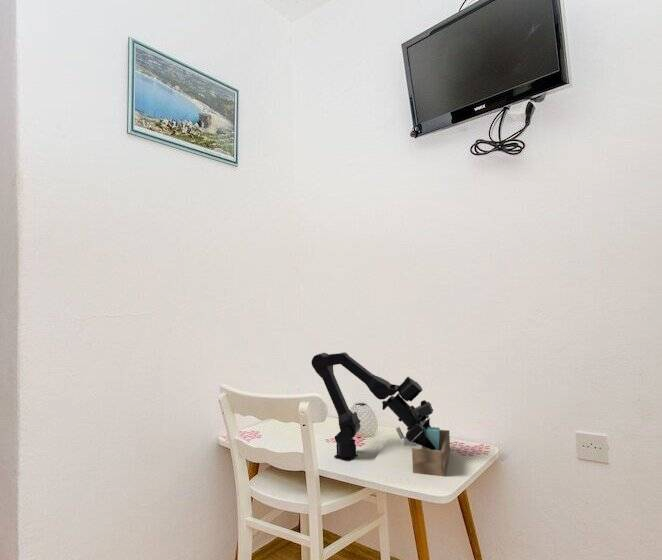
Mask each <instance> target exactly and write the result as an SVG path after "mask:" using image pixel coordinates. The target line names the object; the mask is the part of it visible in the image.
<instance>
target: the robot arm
mask: <svg viewBox="0 0 662 560" xmlns="http://www.w3.org/2000/svg"><path fill="white" fill-rule="evenodd" d="M310 362H311V366H312V368H313V370H314V371H315V373H316V374H317V375H318V376H319V377H320V378H321V380H322V381H323V383H324V385H325V387H326V391H327V392H328V395H329V398H330V399H331V402H332V404H333V406H334V408H335V411H336V414H337V417H338V418H337V420H338V427H339V432H338V433H337V434H336V435H334V440H335V443H336V454H335V455H334V458H335V457H336V458H335V459H338V458H340V459H339V460H342V459H344V460H343V461H346V460H349V461H351V460H352V459H355V458H356V457H358V454H357V445H356V439H354V438H355V436H356V435H357V434H358V432H359V431H360V430H361V420H360V419H359V416H358V413H357V411H354V412H352V411H351V410H350V409H349V407H348V404H347V401H346V399H345V397H344V394H343V392H342V390H341V387H340V385H339V383H338V381H337V379H336V376H335V374H334V373H335V372H334V366H337V365H341V366H342V367H343V368H345V369H346V370H347V371H348V372H350V373H351V374H352V375H353V376H354V377H356V378H358V379H359V380H360V381H361V382H363V383H364V384H365V385H366V387H367V388H368V389H369V391H370V393H372V394H373V396H374V397H375V398H377V399H378V400H381V401H382V402H381V403H382V404H381V405H382V410H383V411H384V410H386V409H387V408H388V409H390V410H391V411H392V412H393V414H394V415H396V417H397V418H398V421H399V422H401V423H403V424H404V425H405V426H406V427H407V428H406V430H407V431H406V433H405V437H406V439H407V440H408V441H409V442H411V441H412V442H413V443H415V444H417V445H420V446H421V447H422V446H424V447H426V448H429V449H431V450H435V446H434V445H433V443H432V442H431V441H430V439H429V438H428V437H427V433H426V430H427V428H428V427H432V425H431V423H430V422H431V421H430V420H431V418H430V415H431V414H433V413H434V409H433V407H432V403H430V402H429V401H426V399H424V400H421V401H420V405H418V406H417V407H415V406H414V405H410V404H408V403H407V402H412V401H414V400H415V398H416V397H418V395H420V393H422V392H423V387H422V386H421V385H420V383H418V382H417V381H415V380H414V379H413V378H411V377H410V376H406V378H405V379H404V380H403V382H402V383H400V385H398V384H392V383H391V382H390V381H388V380H386V379H384V378H383V377H380V376H378V375H375V374H373V373H372V372H371V371H369V370H368V369H366V368H365V367H364V366H363V365H362V364H360V363H359V362H357V361H356V360H355V359H354V358H352V357H351V356H350V355H349V354H348V353H347V352H340V353H330V354H328V353H326V352H321V353H318V354H315V355H314V356H313V357H312V359H311V361H310ZM396 393H397V394H396ZM389 396H390V397H389ZM385 399H387V400H385ZM350 459H351V460H350Z"/></svg>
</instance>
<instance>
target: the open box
mask: <svg viewBox="0 0 662 560" xmlns="http://www.w3.org/2000/svg"><path fill="white" fill-rule="evenodd" d="M450 440H451V439H450V430H449V429H448V430H447V429H440V451H439V450H428V449H427V448H426V447H424V446H422V445H421V448H418V447H417V448H416V447H415V448H414V447H412V449H411V453H412V455H411V458H412V474H418V475H428V476H436V477H444V478H446V474H447V473H446V472H447V469H448V463H449V460H450V453H451V444H450V442H451V441H450Z"/></svg>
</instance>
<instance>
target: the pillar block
mask: <svg viewBox="0 0 662 560" xmlns="http://www.w3.org/2000/svg"><path fill="white" fill-rule="evenodd" d="M440 430H441V429H440V427H435V426H431V427H428V428H427V430H426V433H427V437H428V438H429V439H430V441H431V442H432V443H433V445H434V446H435V450H439V451H440ZM427 449H428V450H431V449H429V448H427Z"/></svg>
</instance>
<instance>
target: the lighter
mask: <svg viewBox="0 0 662 560" xmlns="http://www.w3.org/2000/svg"><path fill="white" fill-rule="evenodd" d="M395 430H396V432H397V434H398V436H399V438H400V440H402V439H403V445H404V446H407V447H408V446H410V447H415V446H416V443H413V442H412V441H411V442H409V441H408V440H407V439H406V436H404V433H403V432H402V429H401V428H400V426H398V427H396V428H395Z"/></svg>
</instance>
